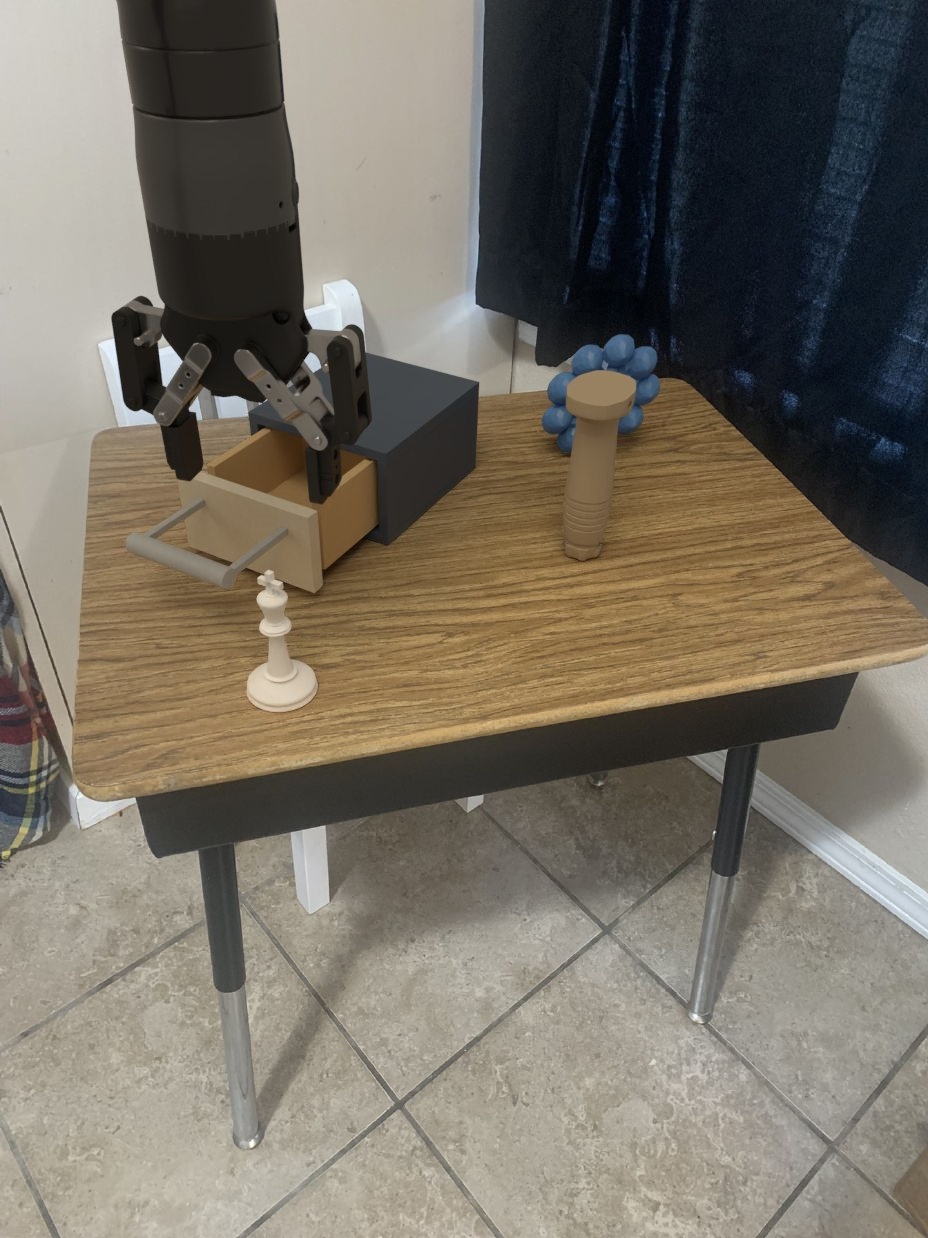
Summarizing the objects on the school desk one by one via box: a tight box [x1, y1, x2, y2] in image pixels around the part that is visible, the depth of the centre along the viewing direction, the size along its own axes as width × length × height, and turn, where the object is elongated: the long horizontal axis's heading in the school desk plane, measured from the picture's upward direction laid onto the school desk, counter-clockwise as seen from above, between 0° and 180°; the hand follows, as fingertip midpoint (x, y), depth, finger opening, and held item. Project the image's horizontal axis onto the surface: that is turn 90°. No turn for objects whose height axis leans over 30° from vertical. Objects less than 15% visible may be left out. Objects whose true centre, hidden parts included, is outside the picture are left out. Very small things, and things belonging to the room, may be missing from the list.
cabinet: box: [247, 352, 480, 546], centre depth 88 cm, size 16×14×9 cm
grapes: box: [541, 333, 661, 454], centre depth 94 cm, size 12×7×12 cm, turn 103°
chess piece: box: [246, 570, 319, 713], centre depth 66 cm, size 5×5×10 cm
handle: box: [562, 370, 636, 562], centre depth 79 cm, size 5×6×15 cm
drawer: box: [124, 427, 379, 594], centre depth 78 cm, size 22×13×7 cm, turn 151°
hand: (255, 486), depth 59 cm, fingers open, 8 cm apart
